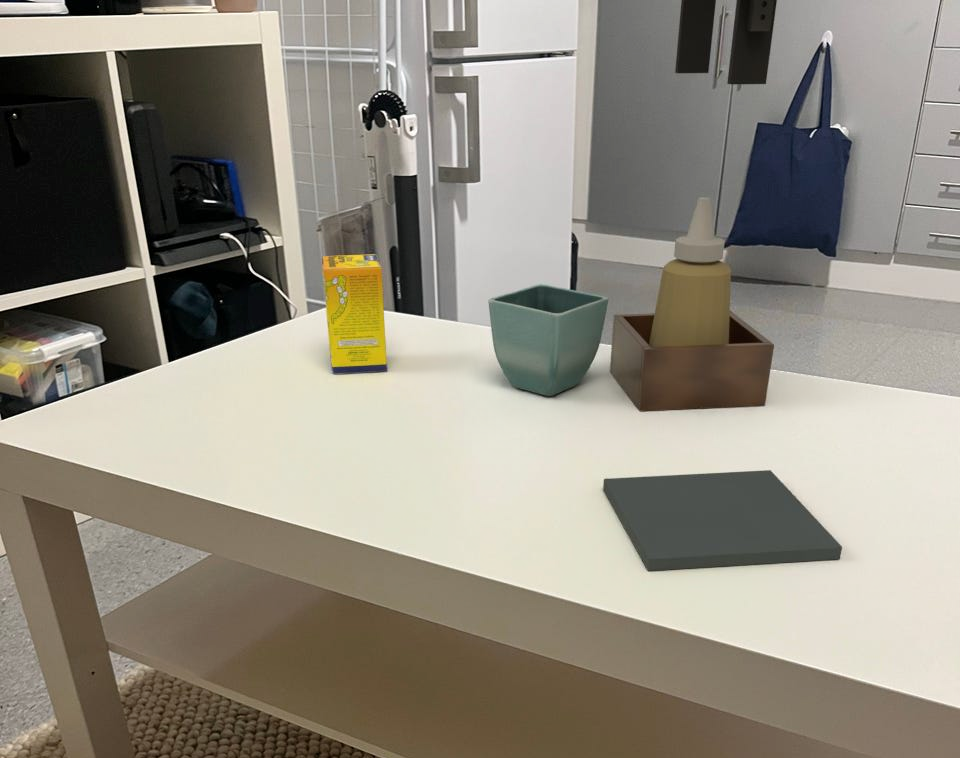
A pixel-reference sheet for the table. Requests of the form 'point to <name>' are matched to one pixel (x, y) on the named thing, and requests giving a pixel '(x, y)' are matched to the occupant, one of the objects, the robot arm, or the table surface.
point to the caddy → (690, 367)
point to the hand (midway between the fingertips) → (717, 78)
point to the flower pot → (546, 336)
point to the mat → (717, 520)
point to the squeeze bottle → (694, 288)
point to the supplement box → (355, 313)
